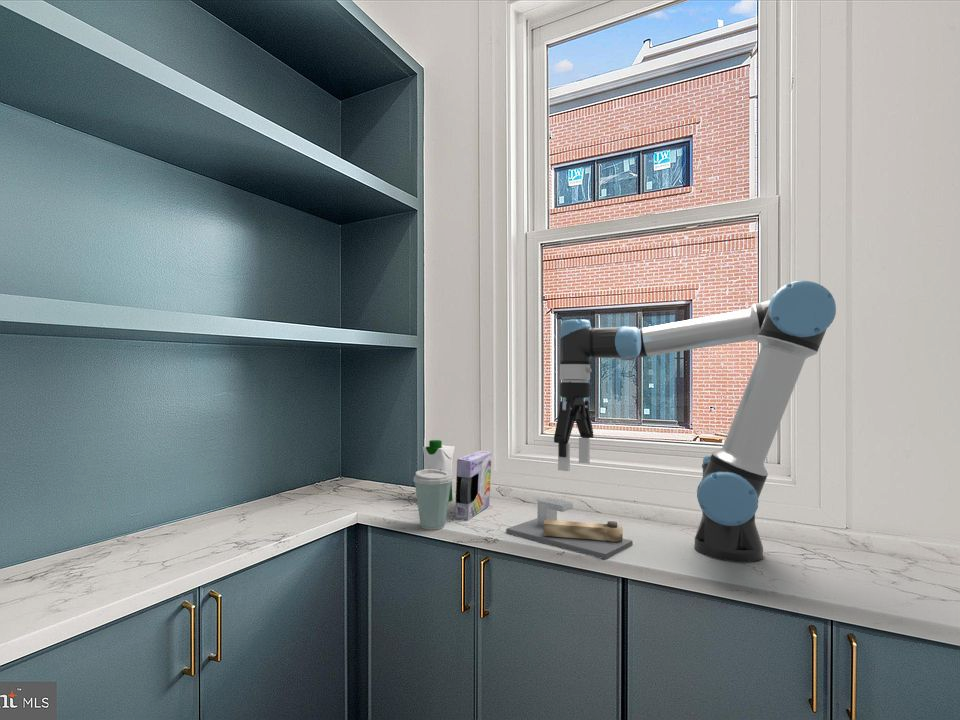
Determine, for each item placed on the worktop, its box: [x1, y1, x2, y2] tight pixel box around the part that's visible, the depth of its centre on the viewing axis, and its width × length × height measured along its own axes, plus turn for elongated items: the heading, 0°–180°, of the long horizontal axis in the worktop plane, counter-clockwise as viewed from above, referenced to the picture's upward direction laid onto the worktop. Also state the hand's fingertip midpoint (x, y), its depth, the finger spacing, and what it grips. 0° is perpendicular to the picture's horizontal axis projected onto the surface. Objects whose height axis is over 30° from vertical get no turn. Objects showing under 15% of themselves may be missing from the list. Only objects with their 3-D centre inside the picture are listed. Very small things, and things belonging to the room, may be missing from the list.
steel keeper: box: [536, 497, 574, 527], centre depth 145 cm, size 8×5×8 cm, turn 49°
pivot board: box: [505, 518, 634, 560], centre depth 137 cm, size 29×14×1 cm, turn 49°
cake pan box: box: [454, 450, 493, 521], centre depth 162 cm, size 19×5×18 cm, turn 159°
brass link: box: [543, 519, 624, 542], centre depth 135 cm, size 20×5×4 cm, turn 79°
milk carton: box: [422, 439, 456, 503], centre depth 176 cm, size 9×9×20 cm
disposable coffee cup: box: [412, 469, 453, 531], centre depth 146 cm, size 11×11×15 cm
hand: (574, 466), depth 133 cm, fingers open, 13 cm apart
